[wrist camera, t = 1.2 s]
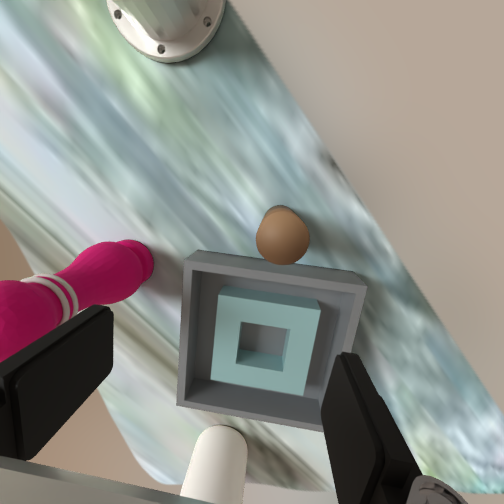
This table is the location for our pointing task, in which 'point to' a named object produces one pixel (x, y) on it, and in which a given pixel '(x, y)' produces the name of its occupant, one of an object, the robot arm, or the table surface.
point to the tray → (263, 336)
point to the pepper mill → (69, 291)
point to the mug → (217, 467)
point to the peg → (282, 236)
